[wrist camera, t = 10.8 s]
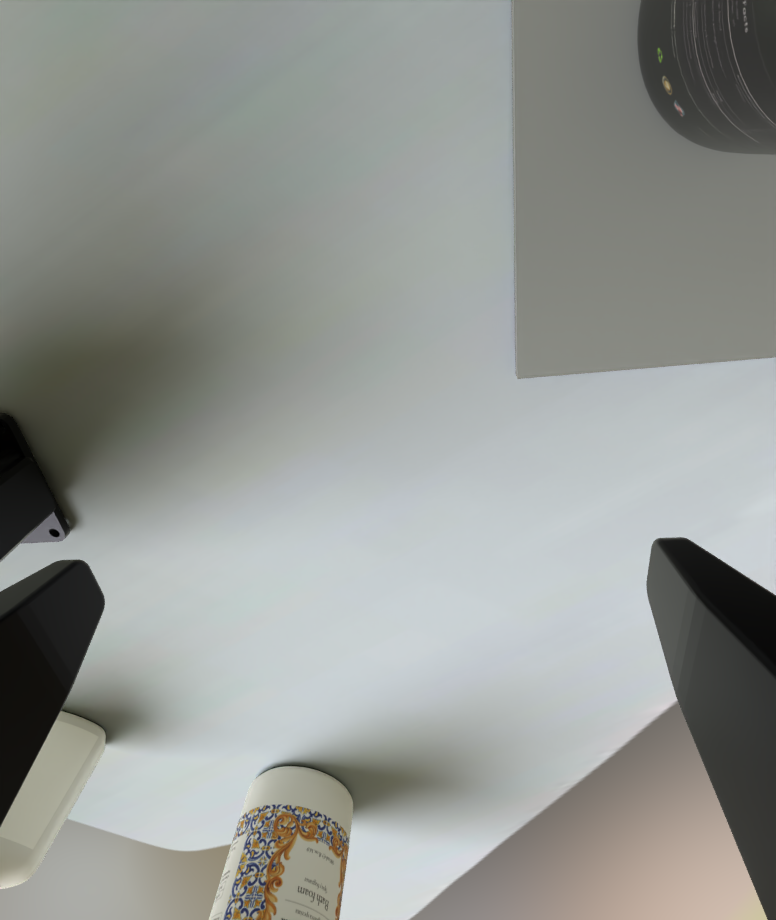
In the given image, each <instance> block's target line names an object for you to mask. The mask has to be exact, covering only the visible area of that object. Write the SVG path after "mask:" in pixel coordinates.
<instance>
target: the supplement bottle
mask: <svg viewBox="0 0 776 920" xmlns="http://www.w3.org/2000/svg"><path fill="white" fill-rule="evenodd" d="M637 45H638V56H639V64H640V69H641V74H642V77H643V81H644V84H645V87H646V90H647V92H648V95H649V97H650V99H651V101H652V103H653V105H654V106H655V108H656V110H657V111H658V113H659V114H660V115H661V117H662V118H663V119H664V120H665V121H666V123H667V124H668V125H669V126H670V127H671V128H672V129H674V130H675V131H676V132H677V133H678V134H680V135H681V136H683V137H684V138H686V139H687V140H689V141H691V142H693V143H695V144H697V145H700V146H703V147H706V148H709V149H712V150H717V151H722V152H729V153H742V154H767V155H776V0H641V3H640V9H639V17H638V29H637Z"/></svg>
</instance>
